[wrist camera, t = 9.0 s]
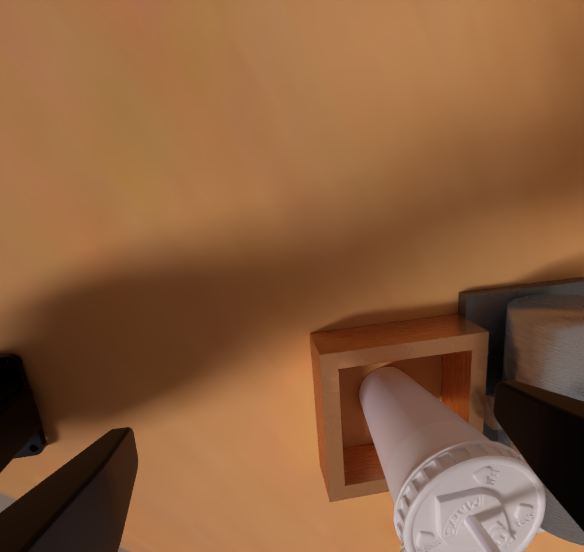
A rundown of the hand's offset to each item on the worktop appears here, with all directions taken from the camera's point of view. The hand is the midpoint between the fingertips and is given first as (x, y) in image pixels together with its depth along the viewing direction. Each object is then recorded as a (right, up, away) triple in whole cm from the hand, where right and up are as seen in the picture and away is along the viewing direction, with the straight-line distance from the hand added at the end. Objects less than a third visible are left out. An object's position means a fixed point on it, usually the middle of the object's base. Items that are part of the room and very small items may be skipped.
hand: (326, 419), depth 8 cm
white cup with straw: (+5, -4, +15) cm, 17 cm away
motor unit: (+10, -4, +15) cm, 19 cm away
